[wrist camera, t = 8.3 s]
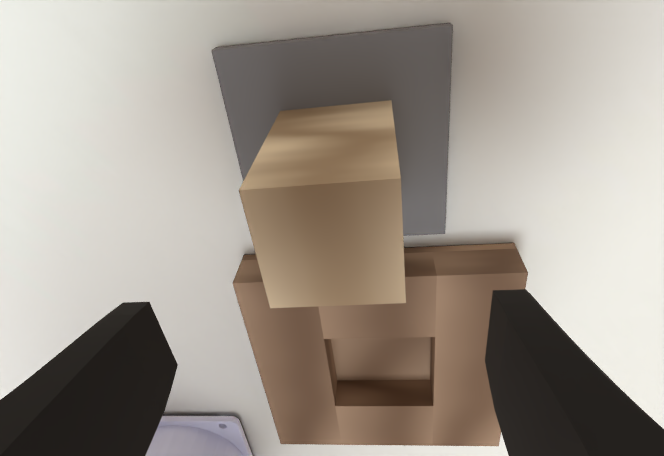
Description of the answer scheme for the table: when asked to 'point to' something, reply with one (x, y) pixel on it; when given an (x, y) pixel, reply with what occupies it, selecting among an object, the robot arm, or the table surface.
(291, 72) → the rubber mat
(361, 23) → the table surface
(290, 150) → the birch peg
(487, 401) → the pocket block
